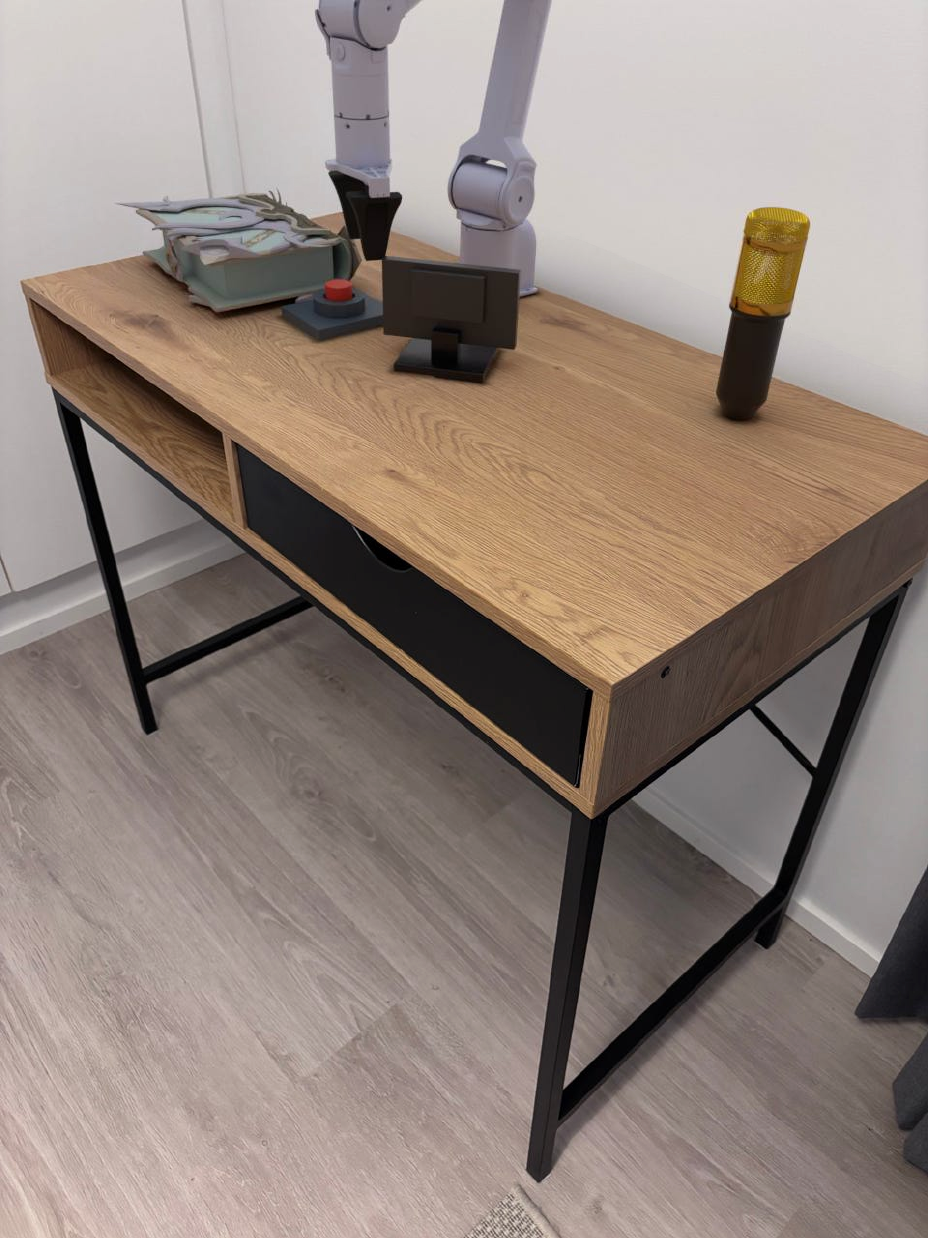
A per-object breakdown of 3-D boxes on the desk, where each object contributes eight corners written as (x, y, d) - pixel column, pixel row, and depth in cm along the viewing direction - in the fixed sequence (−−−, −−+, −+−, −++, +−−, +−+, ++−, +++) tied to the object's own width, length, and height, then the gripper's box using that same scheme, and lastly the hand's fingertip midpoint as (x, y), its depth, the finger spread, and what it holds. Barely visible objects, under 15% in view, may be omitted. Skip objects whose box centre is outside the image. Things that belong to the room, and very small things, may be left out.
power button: (343, 291, 121) (342, 277, 120) (357, 299, 119) (357, 284, 118) (320, 296, 120) (319, 282, 119) (334, 304, 118) (333, 290, 117)
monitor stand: (415, 341, 116) (415, 307, 114) (499, 351, 115) (501, 317, 112) (393, 372, 109) (393, 336, 107) (482, 383, 108) (484, 347, 105)
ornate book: (372, 302, 129) (268, 232, 147) (371, 226, 123) (263, 163, 141) (207, 337, 118) (118, 257, 137) (197, 255, 112) (106, 183, 131)
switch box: (359, 300, 127) (358, 276, 125) (398, 322, 121) (398, 297, 119) (281, 317, 121) (279, 292, 120) (319, 341, 116) (317, 316, 114)
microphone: (688, 372, 111) (721, 183, 99) (778, 418, 103) (826, 217, 91) (649, 384, 109) (678, 190, 97) (738, 431, 100) (782, 226, 88)
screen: (386, 330, 113) (385, 255, 108) (516, 345, 110) (521, 269, 105) (381, 337, 111) (379, 261, 106) (513, 352, 109) (517, 275, 104)
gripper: (309, 101, 107) (317, 231, 116) (338, 131, 96) (345, 272, 105) (373, 99, 109) (377, 227, 117) (409, 128, 98) (410, 267, 107)
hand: (366, 248), depth 111 cm, fingers open, 7 cm apart
